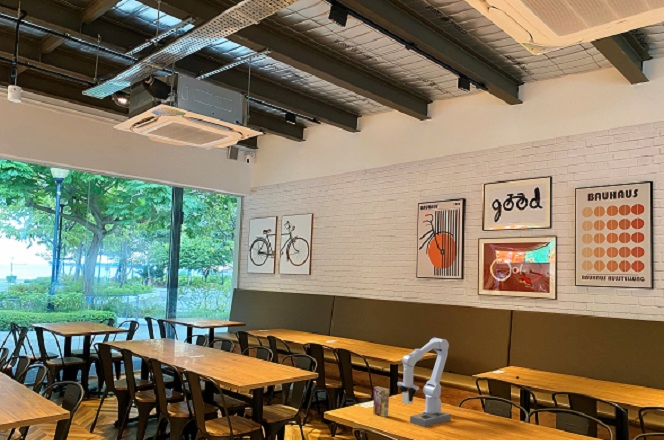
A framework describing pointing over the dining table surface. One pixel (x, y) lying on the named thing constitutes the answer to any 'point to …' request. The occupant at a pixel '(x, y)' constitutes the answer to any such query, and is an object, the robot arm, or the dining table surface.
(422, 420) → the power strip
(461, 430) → the dining table surface
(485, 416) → the dining table surface
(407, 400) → the plug
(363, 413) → the dining table surface
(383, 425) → the dining table surface
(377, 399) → the candy box
